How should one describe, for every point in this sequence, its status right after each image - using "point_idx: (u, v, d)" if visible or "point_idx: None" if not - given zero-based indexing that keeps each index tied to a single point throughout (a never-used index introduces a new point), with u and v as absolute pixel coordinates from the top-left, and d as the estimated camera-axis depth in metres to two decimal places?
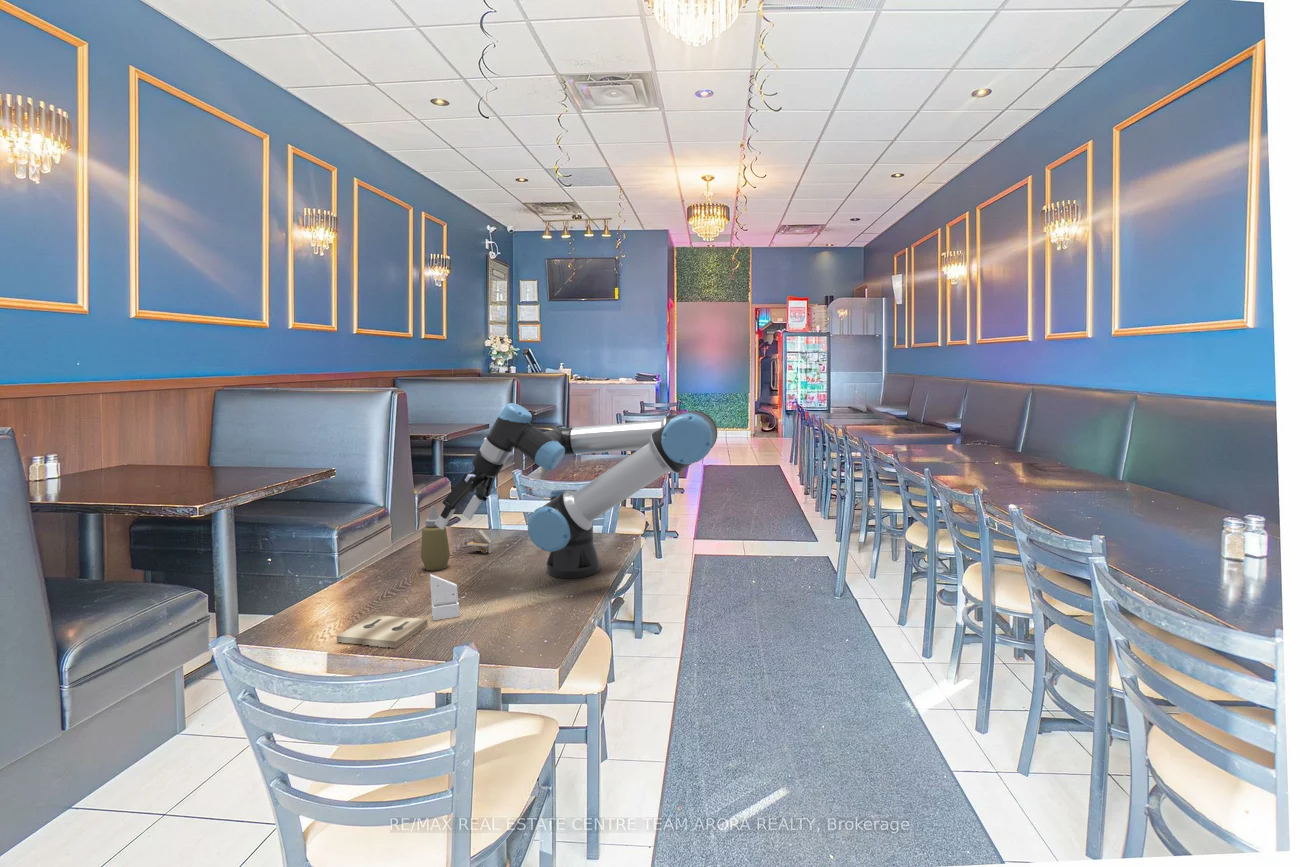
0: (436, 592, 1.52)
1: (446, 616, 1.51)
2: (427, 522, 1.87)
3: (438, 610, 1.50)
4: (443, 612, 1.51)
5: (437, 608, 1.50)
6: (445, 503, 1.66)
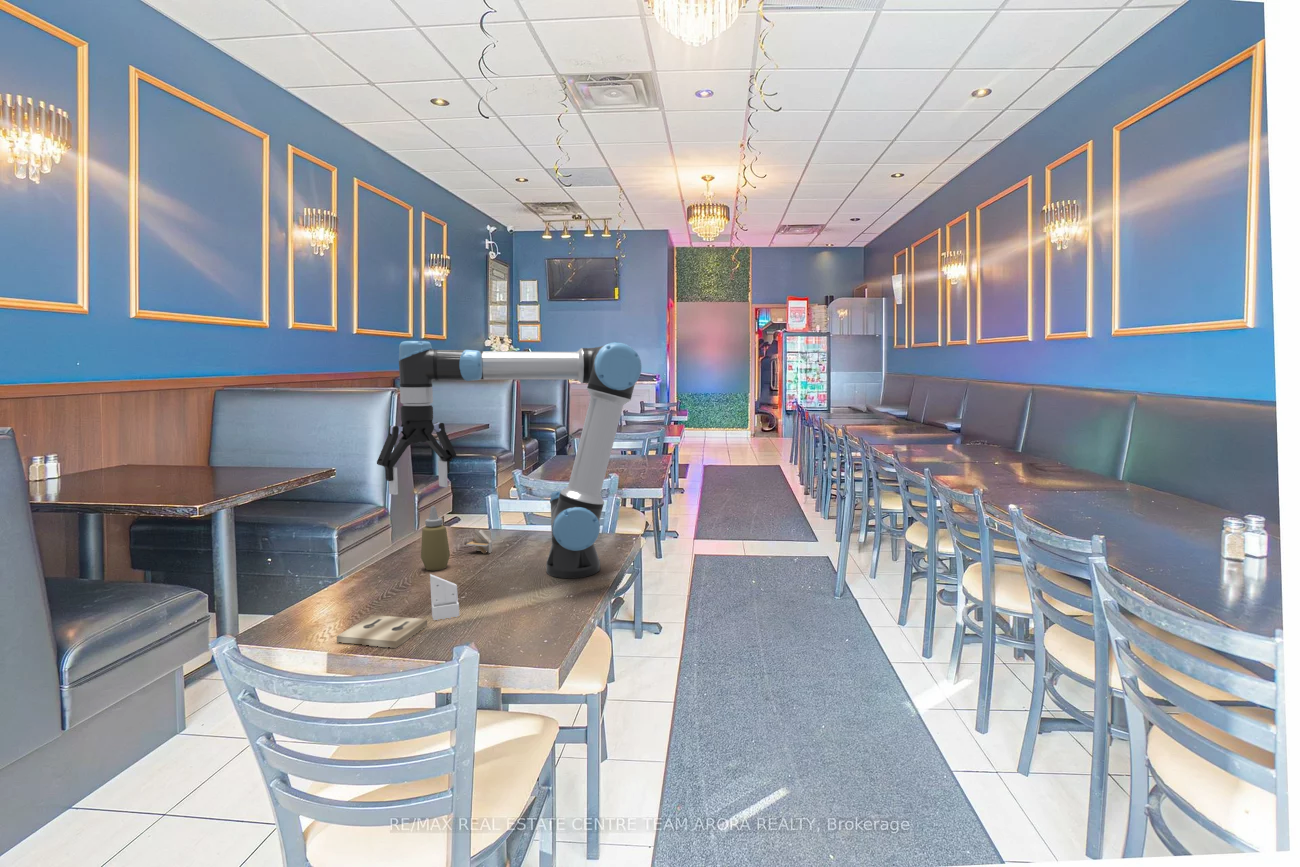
0: (436, 592, 1.52)
1: (446, 616, 1.51)
2: (427, 522, 1.87)
3: (438, 610, 1.50)
4: (443, 612, 1.51)
5: (437, 608, 1.50)
6: (378, 462, 1.55)
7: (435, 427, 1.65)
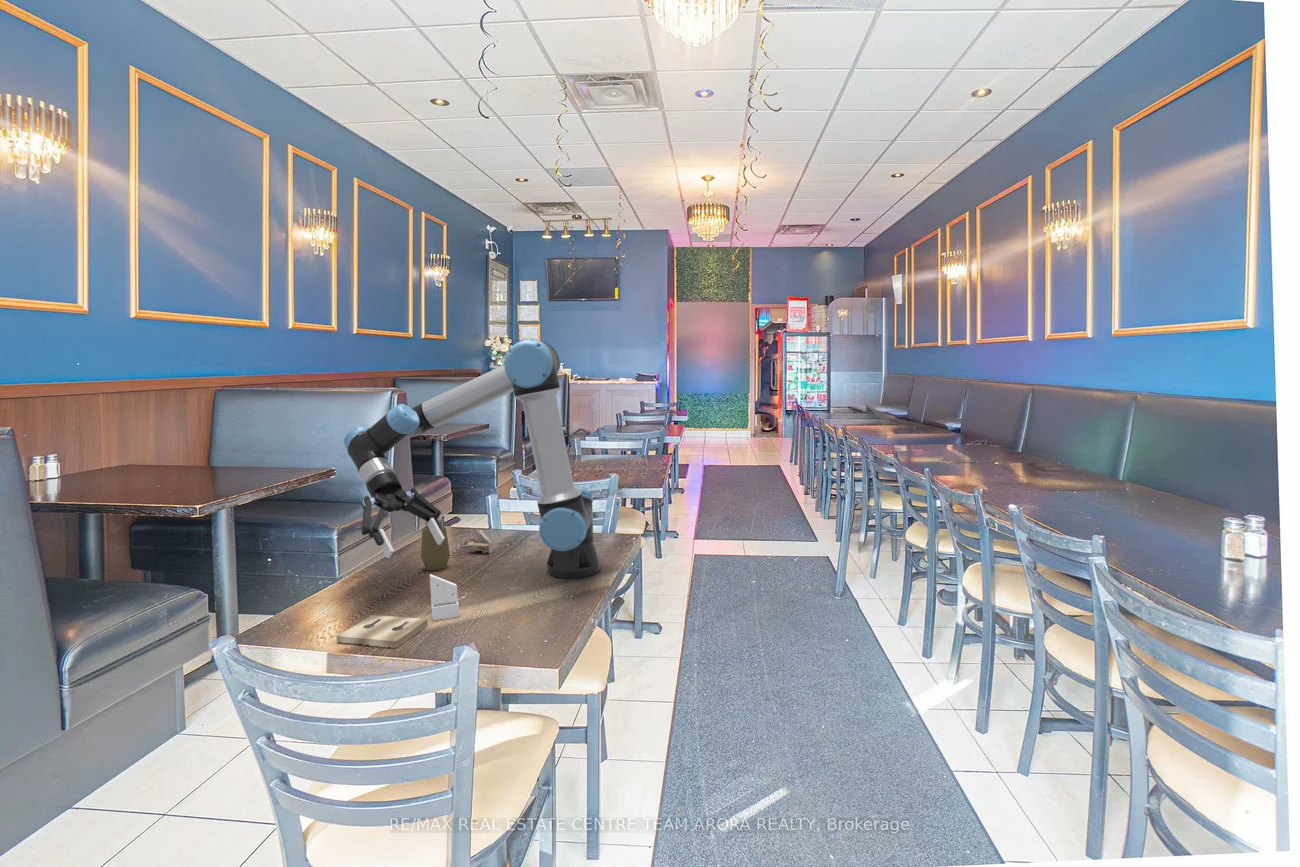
0: (436, 592, 1.52)
1: (446, 616, 1.51)
2: (427, 522, 1.87)
3: (438, 610, 1.50)
4: (443, 612, 1.51)
5: (437, 608, 1.50)
6: (362, 531, 1.53)
7: (408, 494, 1.67)
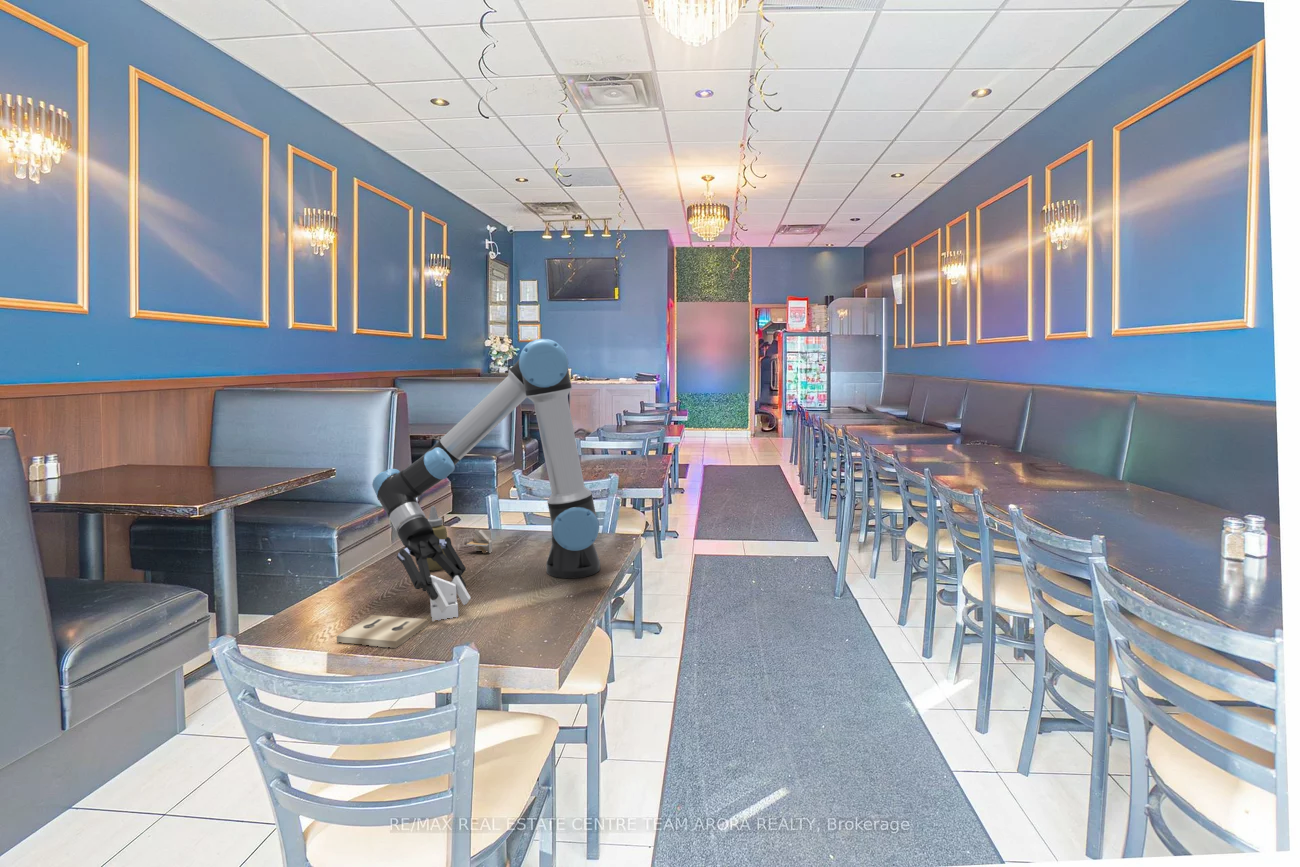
0: None
1: (445, 616, 1.51)
2: None
3: (437, 610, 1.50)
4: None
5: (435, 608, 1.50)
6: (416, 585, 1.49)
7: (441, 541, 1.60)
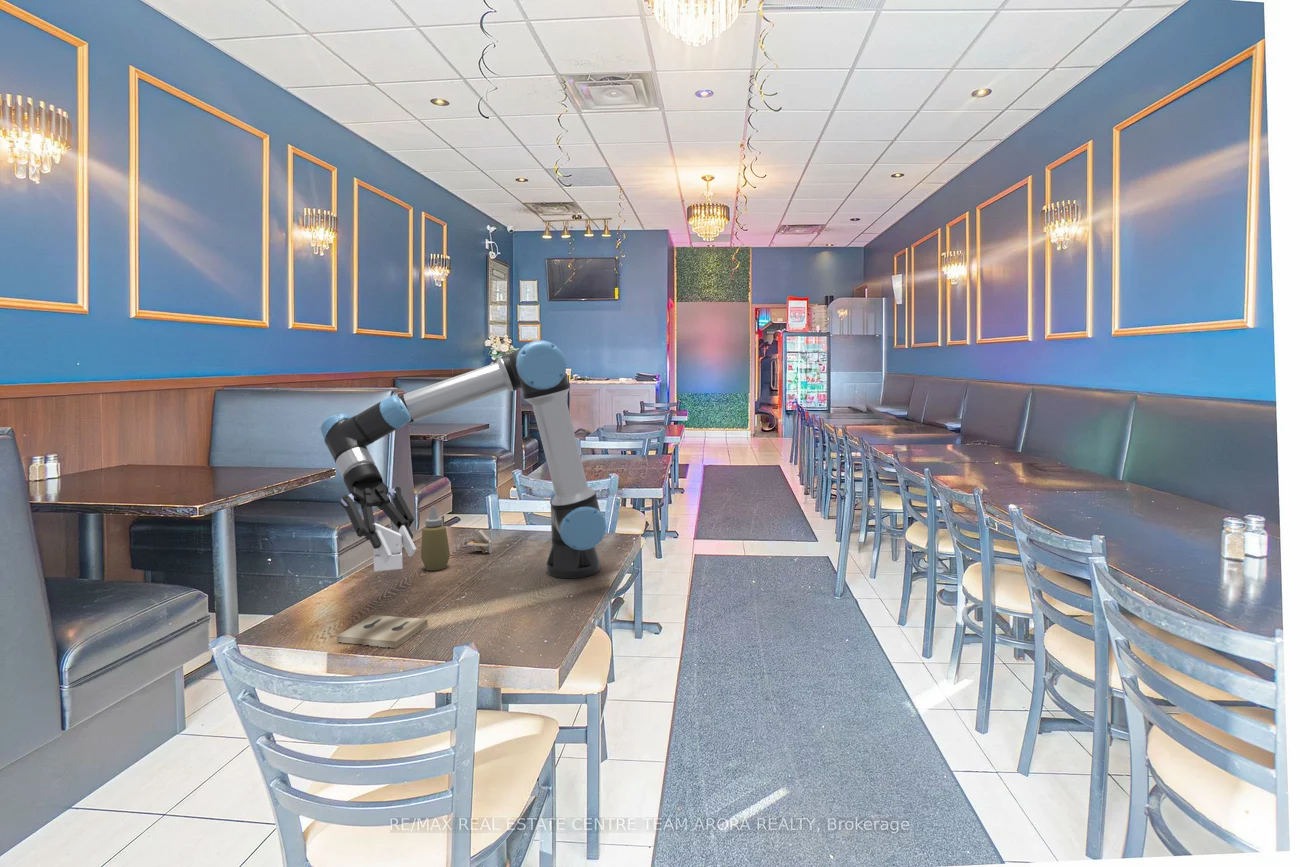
0: None
1: (388, 567, 1.42)
2: (427, 522, 1.87)
3: (379, 560, 1.41)
4: (385, 562, 1.42)
5: (378, 558, 1.41)
6: (358, 532, 1.40)
7: (390, 491, 1.51)
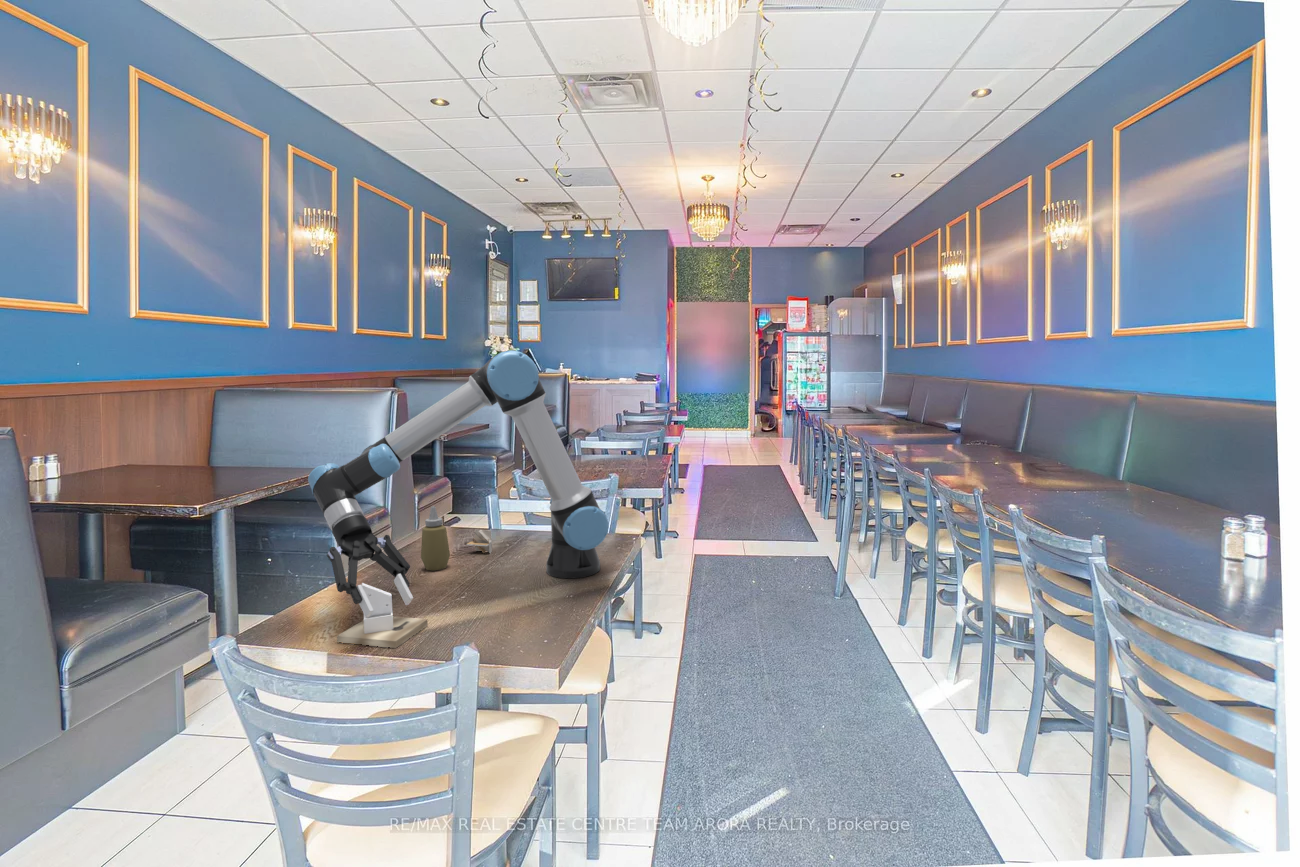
0: None
1: (378, 628, 1.41)
2: (427, 522, 1.87)
3: (369, 622, 1.40)
4: (375, 624, 1.41)
5: (368, 620, 1.40)
6: (338, 587, 1.37)
7: (379, 540, 1.50)
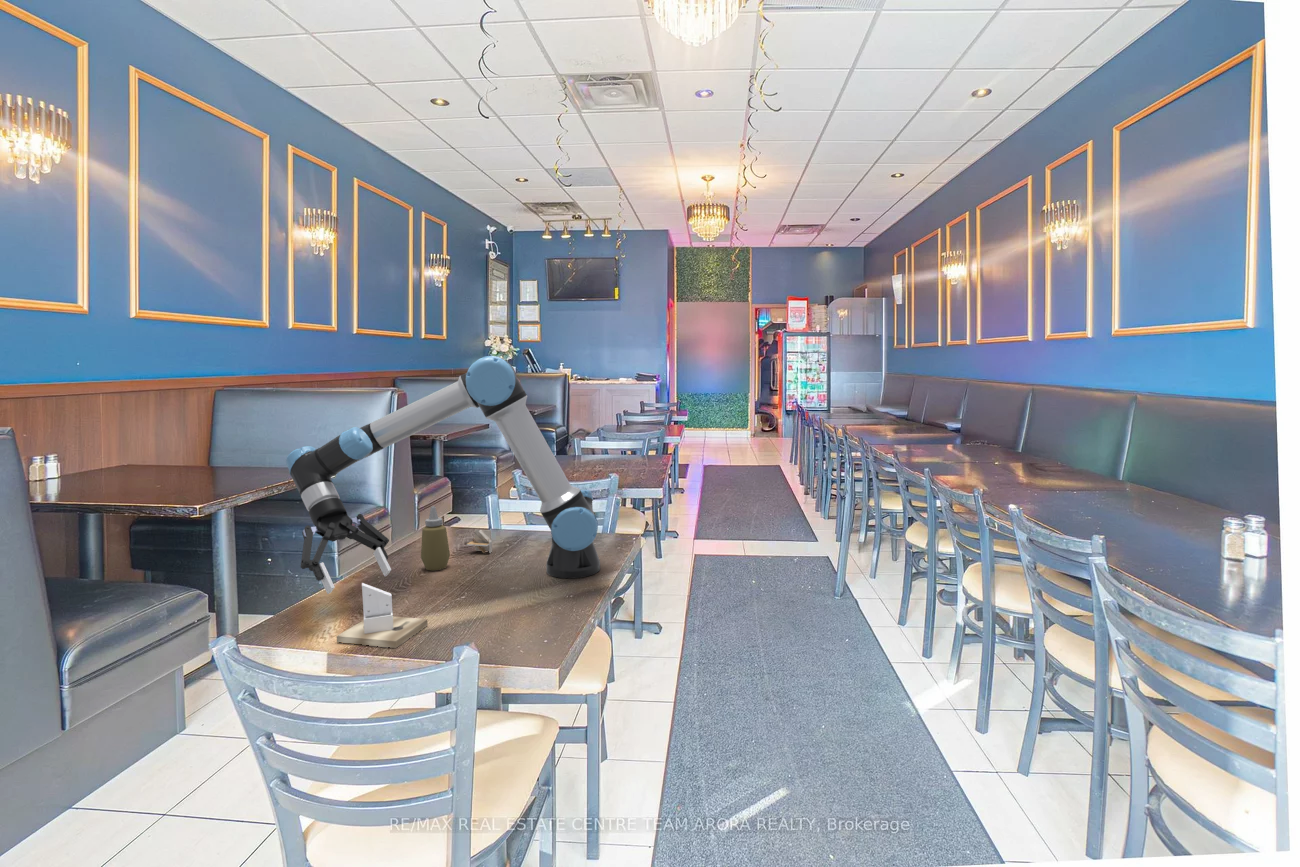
0: (368, 602, 1.41)
1: (378, 628, 1.41)
2: (427, 522, 1.87)
3: (369, 622, 1.40)
4: (375, 624, 1.41)
5: (368, 620, 1.40)
6: (301, 565, 1.45)
7: (354, 520, 1.58)
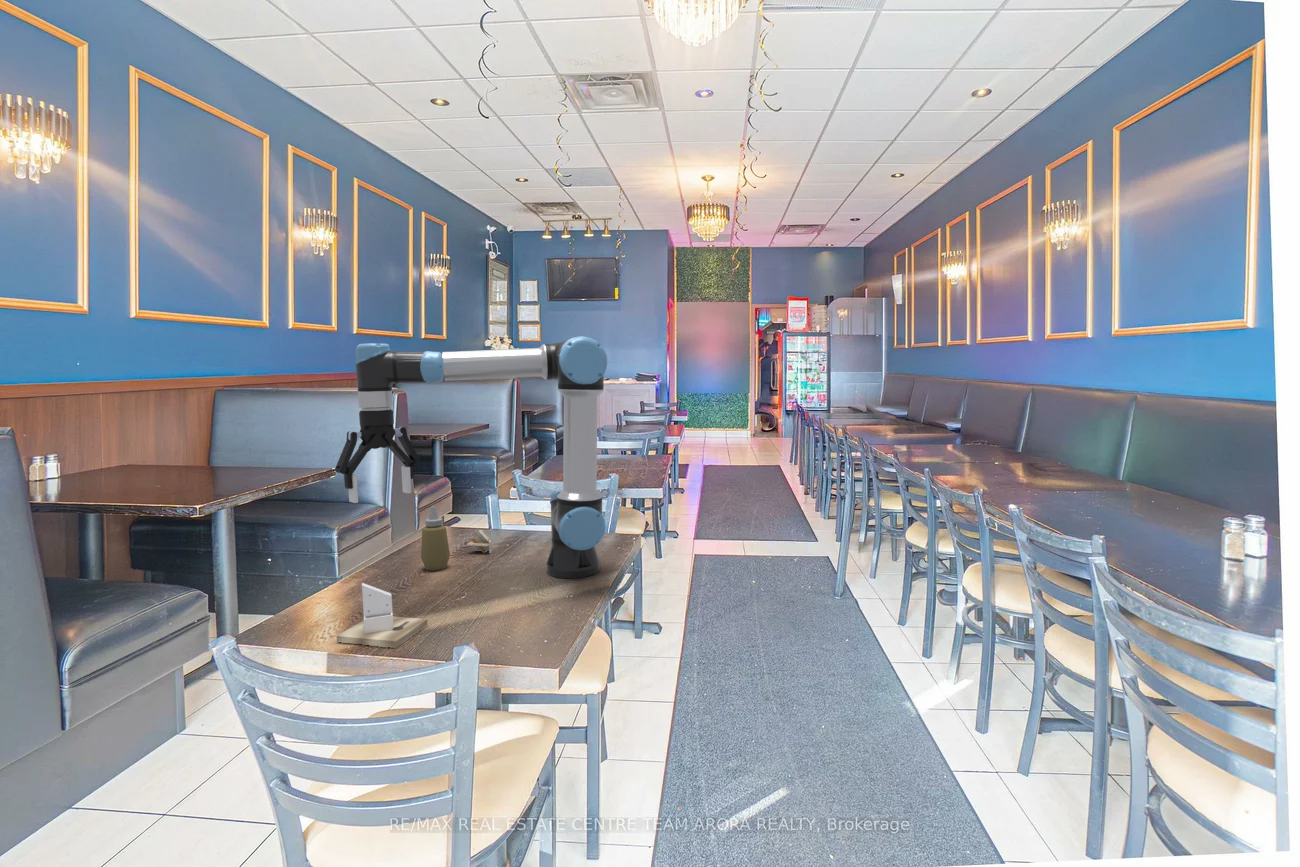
0: (368, 602, 1.41)
1: (378, 628, 1.41)
2: (427, 522, 1.87)
3: (369, 622, 1.40)
4: (375, 624, 1.41)
5: (368, 620, 1.40)
6: (336, 470, 1.50)
7: (396, 432, 1.60)
